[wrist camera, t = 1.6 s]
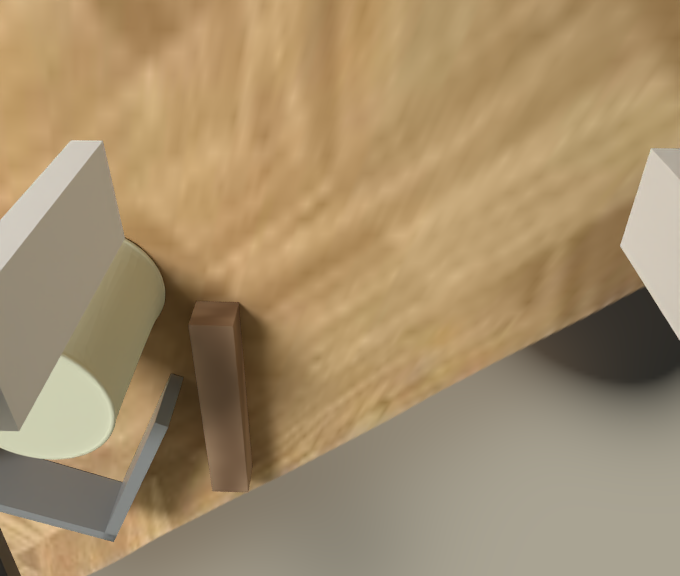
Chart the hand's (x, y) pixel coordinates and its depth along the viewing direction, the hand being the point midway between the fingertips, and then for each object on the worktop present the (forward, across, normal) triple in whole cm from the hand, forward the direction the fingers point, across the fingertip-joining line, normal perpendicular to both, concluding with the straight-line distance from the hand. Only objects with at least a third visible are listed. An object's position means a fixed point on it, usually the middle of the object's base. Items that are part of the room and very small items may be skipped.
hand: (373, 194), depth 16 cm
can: (+22, -18, -18) cm, 33 cm away
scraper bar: (+22, -10, -29) cm, 37 cm away
